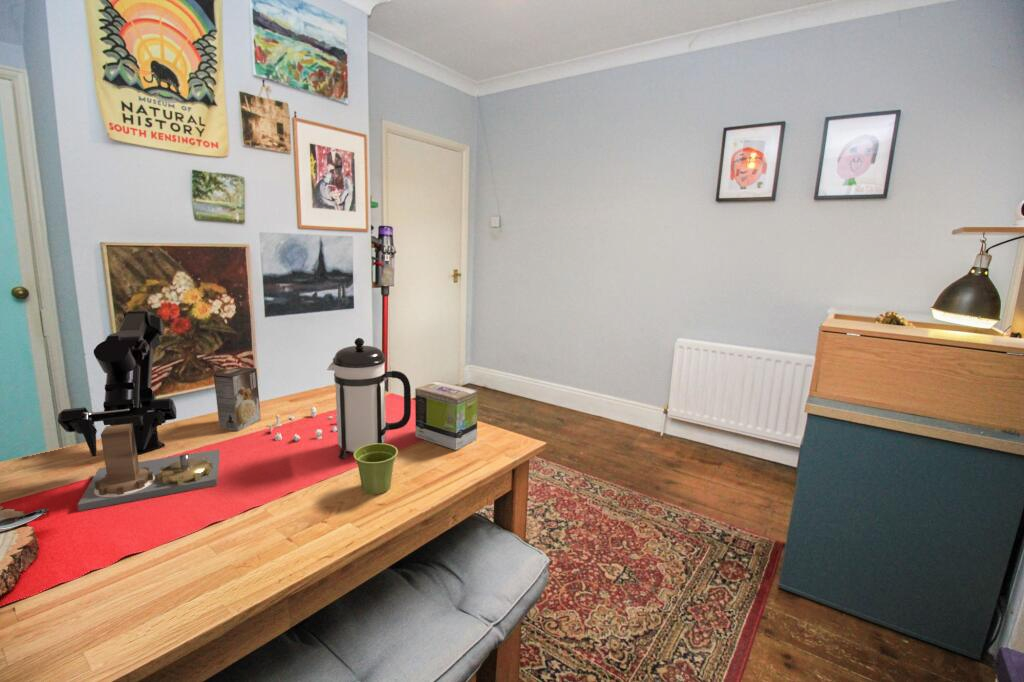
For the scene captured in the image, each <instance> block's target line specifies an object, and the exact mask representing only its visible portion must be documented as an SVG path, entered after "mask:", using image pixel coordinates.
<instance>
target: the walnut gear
mask: <svg viewBox="0 0 1024 682" xmlns="http://www.w3.org/2000/svg"><path fill="white" fill-rule="evenodd" d="M100 440H101V445H102V446H101V447H102V452H103V457H104V465H105V467H106V472H107V474H106V475H105V476H106V477H104V478H103V479H101V480H100V481H96V482H95V488H96V490H99V495H105V494H117V495H121V494H124V492H128V491H131V490H134V489H137V488H138V489H141V488H143V487H145V485H144V484H146V483H147V482H148V481H150V480H153V472H149V468H148V467H144V468H139V463H138V462H139V456H138V455H137V449H136V442H135V435H134V428H133V423H130V424H122V425H114V426H110V425H105V427H104V429H103V430H102V432H101V433H100Z"/></svg>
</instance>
